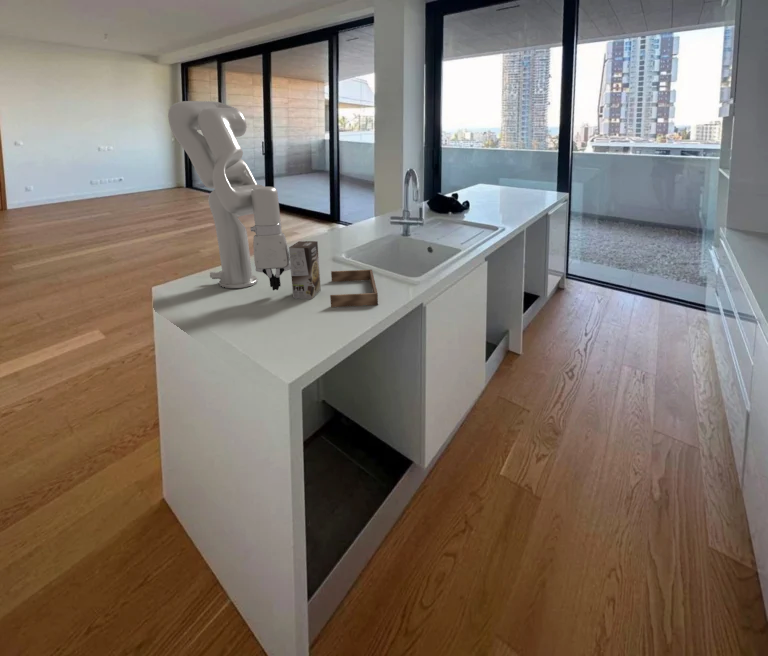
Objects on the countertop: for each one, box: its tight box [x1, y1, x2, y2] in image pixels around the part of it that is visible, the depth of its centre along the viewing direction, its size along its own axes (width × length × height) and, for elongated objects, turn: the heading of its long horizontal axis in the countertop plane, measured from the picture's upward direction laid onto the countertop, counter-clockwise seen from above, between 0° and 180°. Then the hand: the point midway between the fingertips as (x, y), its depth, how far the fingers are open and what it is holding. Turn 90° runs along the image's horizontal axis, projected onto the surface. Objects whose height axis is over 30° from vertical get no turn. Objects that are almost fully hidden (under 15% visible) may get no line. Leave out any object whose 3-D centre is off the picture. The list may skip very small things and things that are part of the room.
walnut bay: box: [329, 269, 379, 308], centre depth 157 cm, size 14×26×4 cm, turn 5°
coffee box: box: [288, 240, 322, 300], centre depth 154 cm, size 9×6×16 cm
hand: (275, 288), depth 155 cm, fingers closed
